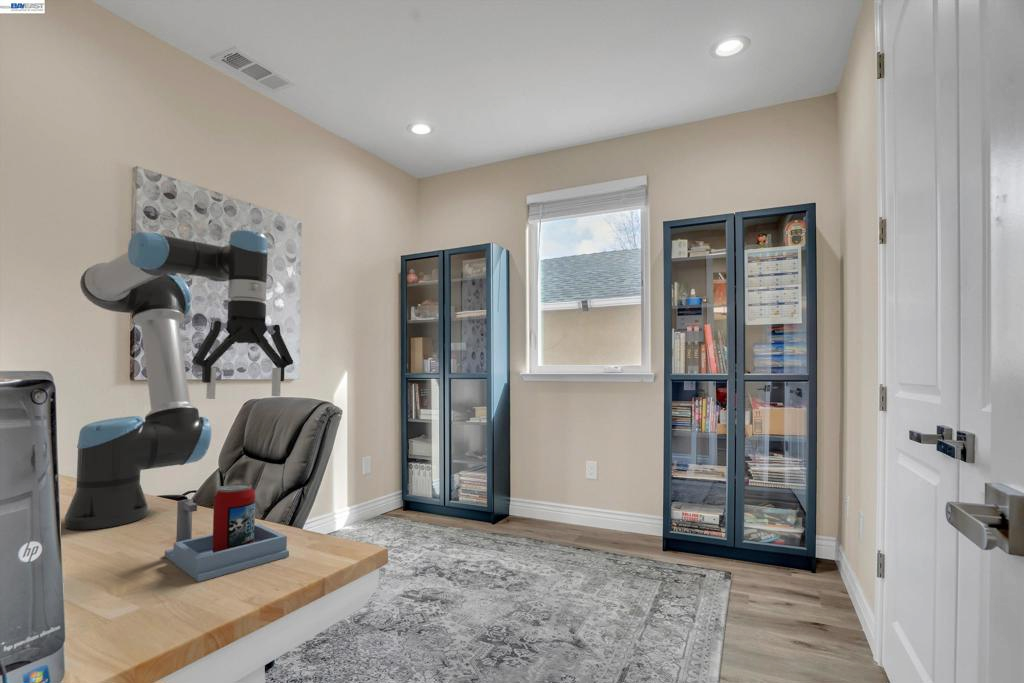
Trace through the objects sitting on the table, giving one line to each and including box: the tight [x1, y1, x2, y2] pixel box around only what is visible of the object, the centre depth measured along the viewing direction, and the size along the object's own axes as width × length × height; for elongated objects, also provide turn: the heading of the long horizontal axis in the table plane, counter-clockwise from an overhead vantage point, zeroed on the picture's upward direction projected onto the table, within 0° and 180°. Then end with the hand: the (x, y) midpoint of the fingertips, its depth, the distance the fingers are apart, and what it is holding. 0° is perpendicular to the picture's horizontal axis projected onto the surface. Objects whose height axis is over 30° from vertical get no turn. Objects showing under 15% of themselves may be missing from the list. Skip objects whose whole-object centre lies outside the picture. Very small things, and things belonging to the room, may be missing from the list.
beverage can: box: [212, 483, 256, 553], centre depth 94 cm, size 7×7×12 cm
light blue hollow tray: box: [164, 498, 290, 583], centre depth 95 cm, size 18×15×10 cm
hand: (244, 397), depth 111 cm, fingers open, 13 cm apart
